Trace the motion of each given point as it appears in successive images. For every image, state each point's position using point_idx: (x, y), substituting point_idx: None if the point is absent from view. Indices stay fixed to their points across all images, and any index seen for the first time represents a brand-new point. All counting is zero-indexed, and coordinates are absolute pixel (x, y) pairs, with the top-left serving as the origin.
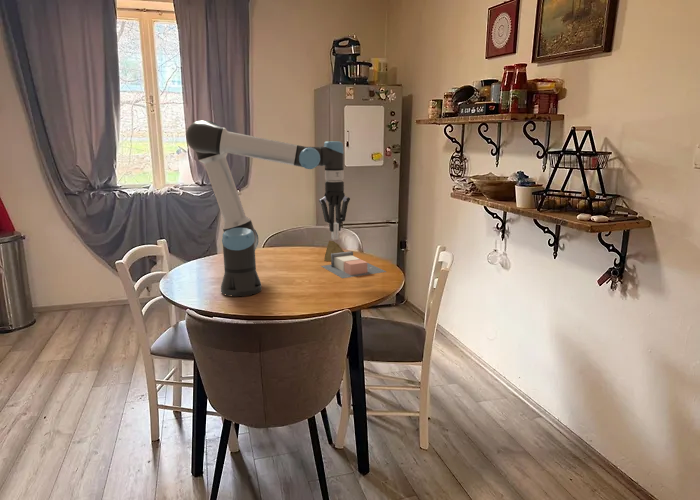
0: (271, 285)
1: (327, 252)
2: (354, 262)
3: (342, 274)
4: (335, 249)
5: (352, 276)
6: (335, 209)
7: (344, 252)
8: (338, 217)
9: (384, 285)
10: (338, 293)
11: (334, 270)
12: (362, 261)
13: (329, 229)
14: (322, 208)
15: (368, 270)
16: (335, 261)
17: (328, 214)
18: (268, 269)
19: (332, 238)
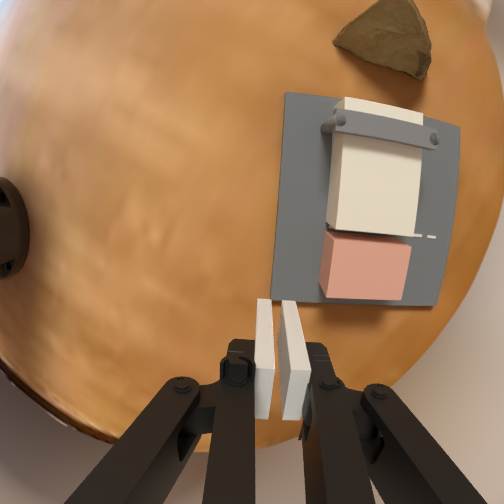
0: (54, 218)
1: (363, 22)
2: (361, 275)
3: (297, 257)
4: (400, 37)
5: (314, 299)
6: (326, 498)
7: (403, 129)
8: (305, 463)
9: None
10: None
11: (301, 187)
12: (396, 277)
13: (228, 346)
14: (80, 496)
15: None
16: (338, 141)
17: (171, 487)
18: (111, 32)
19: (256, 315)
